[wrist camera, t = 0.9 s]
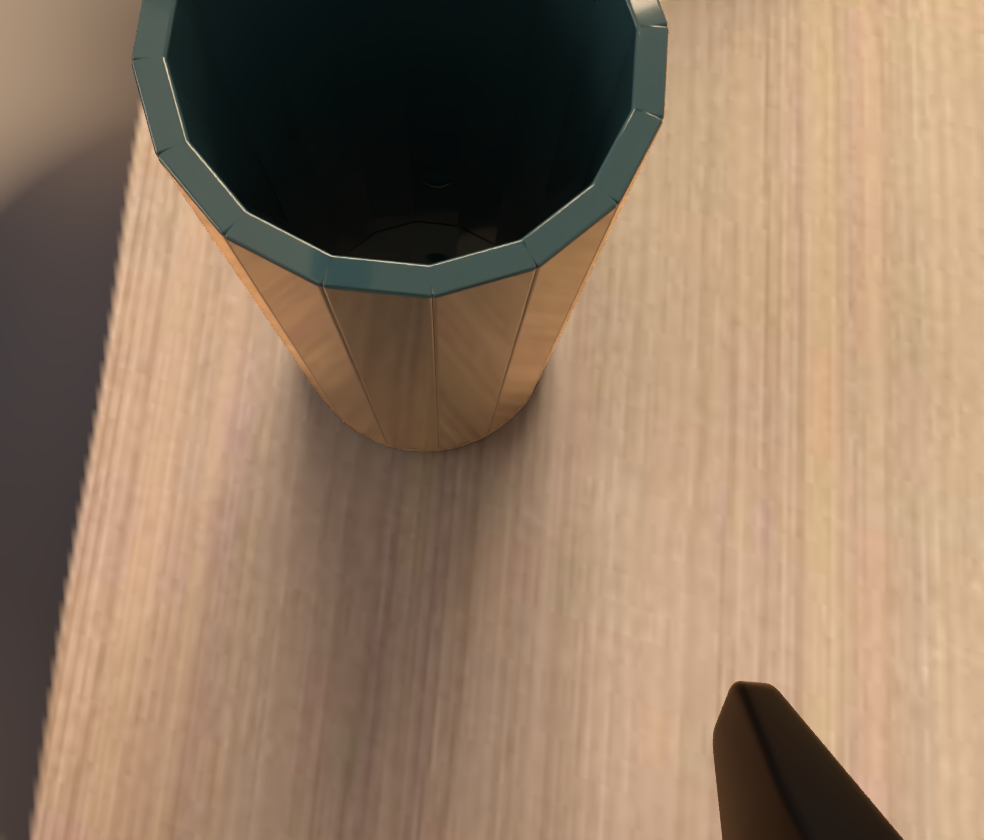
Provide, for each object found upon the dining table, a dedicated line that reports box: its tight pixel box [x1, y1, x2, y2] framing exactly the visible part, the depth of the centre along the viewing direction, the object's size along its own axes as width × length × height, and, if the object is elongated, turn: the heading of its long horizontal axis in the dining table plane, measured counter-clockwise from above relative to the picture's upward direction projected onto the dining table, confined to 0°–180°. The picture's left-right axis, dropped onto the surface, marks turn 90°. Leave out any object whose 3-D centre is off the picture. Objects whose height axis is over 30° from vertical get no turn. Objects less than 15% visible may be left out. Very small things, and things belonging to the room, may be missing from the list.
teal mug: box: [132, 0, 669, 452], centre depth 18 cm, size 10×7×13 cm, turn 175°
